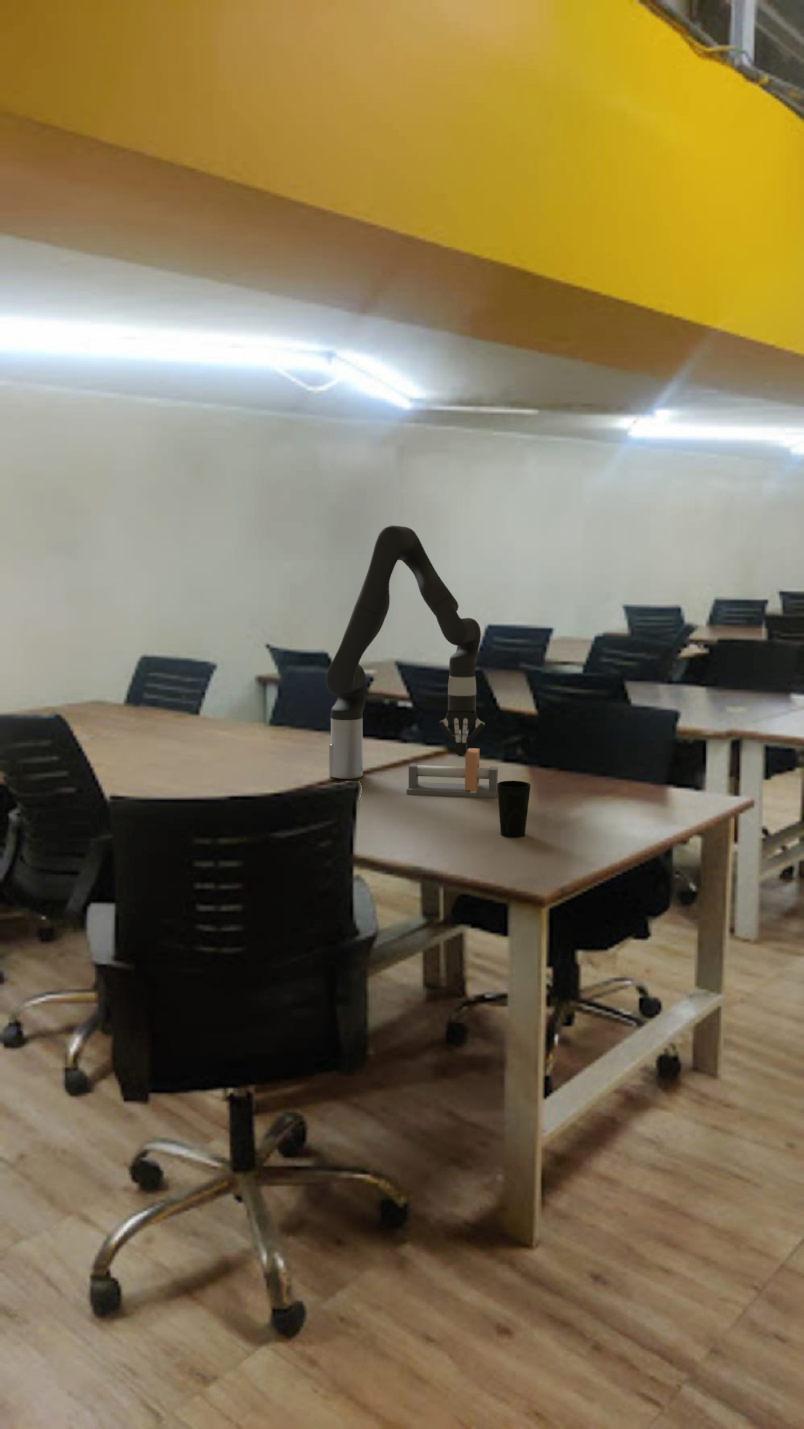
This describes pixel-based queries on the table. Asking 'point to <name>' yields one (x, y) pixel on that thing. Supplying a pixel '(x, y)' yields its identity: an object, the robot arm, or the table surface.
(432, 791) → the pipe rail
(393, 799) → the table surface
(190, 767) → the table surface
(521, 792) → the cup
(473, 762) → the collar
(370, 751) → the table surface
